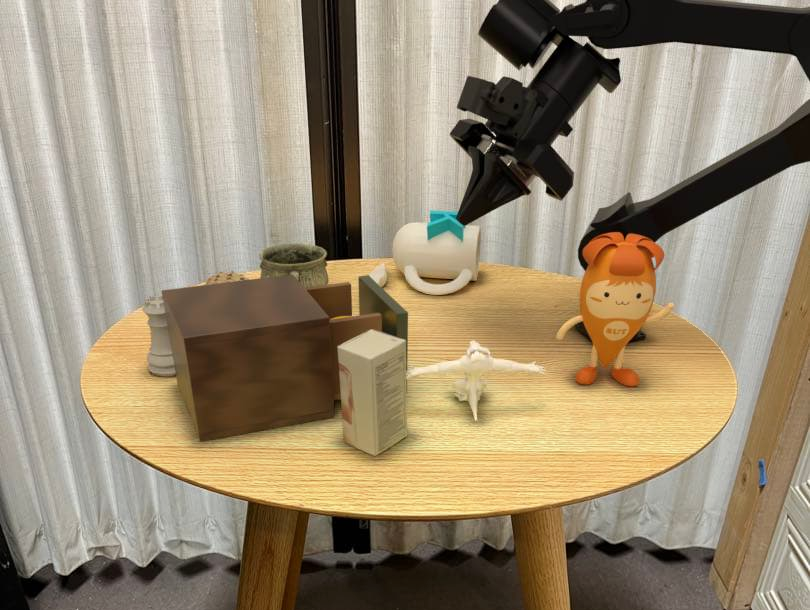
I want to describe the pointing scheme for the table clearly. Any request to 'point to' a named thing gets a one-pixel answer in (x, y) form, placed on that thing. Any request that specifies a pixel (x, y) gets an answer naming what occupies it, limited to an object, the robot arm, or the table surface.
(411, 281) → the mug
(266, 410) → the cabinet
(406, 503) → the table surface
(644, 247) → the toy figure
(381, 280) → the pale tapered spike
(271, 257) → the vessel
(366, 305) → the drawer
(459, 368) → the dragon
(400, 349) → the printed medicine carton
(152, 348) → the rook chess piece
